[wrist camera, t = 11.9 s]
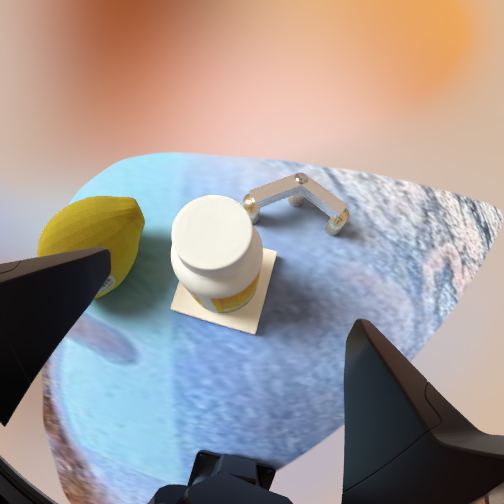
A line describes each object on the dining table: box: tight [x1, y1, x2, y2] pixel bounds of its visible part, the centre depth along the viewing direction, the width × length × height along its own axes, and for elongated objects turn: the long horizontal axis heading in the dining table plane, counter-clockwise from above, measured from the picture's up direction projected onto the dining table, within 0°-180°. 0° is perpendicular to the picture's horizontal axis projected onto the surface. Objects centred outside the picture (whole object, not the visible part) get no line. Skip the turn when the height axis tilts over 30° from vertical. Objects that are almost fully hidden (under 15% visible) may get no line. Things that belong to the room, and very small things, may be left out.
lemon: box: [37, 196, 145, 299], centre depth 20 cm, size 11×8×8 cm
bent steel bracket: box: [244, 173, 349, 236], centre depth 24 cm, size 4×9×4 cm, turn 75°
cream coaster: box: [170, 248, 277, 335], centre depth 23 cm, size 7×7×1 cm
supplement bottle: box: [171, 195, 263, 314], centre depth 18 cm, size 5×5×10 cm
